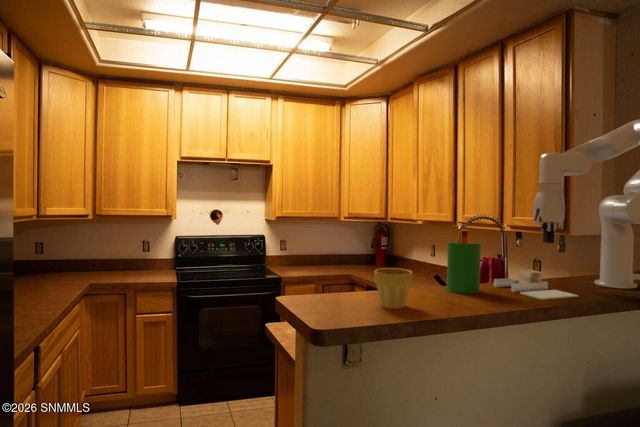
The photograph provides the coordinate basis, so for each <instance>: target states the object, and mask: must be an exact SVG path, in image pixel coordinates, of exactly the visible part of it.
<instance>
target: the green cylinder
mask: <svg viewBox="0 0 640 427" xmlns="http://www.w3.org/2000/svg"><path fill="white" fill-rule="evenodd" d="M468 233H469V232H468V229H461V234H460V235H461V236H460V237H461V242H460V243H459V242H452V241H447V261H446V262H447V266H446V269H447V271H446V276H447V277H446V290H447V291H448V292H451V293H456V294H465V295H466V294H467V295H469V294H479V293H480V291H481V290H480V288H481V244H482V243H481V242H477V243H468V236H469V234H468Z"/></svg>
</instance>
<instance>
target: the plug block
mask: <svg viewBox="0 0 640 427" xmlns="http://www.w3.org/2000/svg"><path fill="white" fill-rule="evenodd" d="M542 277H543V272H541V271H536V270H532V269H527V270H525V269H524V270H518V278H519V283H528V282H543V280H542Z"/></svg>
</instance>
